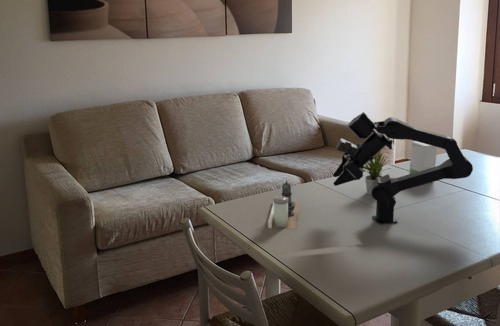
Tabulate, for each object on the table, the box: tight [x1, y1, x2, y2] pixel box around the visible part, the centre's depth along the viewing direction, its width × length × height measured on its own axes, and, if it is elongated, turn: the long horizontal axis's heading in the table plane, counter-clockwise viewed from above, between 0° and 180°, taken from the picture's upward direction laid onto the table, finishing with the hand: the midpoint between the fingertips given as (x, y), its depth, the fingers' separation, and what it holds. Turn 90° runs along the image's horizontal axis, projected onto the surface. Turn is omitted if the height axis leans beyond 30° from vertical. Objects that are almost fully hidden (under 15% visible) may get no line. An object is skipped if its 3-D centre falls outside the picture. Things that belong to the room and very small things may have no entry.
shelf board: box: [271, 201, 301, 230], centre depth 186 cm, size 9×25×1 cm, turn 172°
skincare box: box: [408, 141, 438, 175], centre depth 221 cm, size 8×7×16 cm
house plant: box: [362, 150, 391, 196], centre depth 207 cm, size 14×14×16 cm
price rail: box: [267, 195, 278, 229], centre depth 186 cm, size 1×25×3 cm, turn 172°
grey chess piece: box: [280, 180, 295, 217], centre depth 184 cm, size 6×6×12 cm
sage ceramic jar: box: [272, 195, 288, 227], centre depth 175 cm, size 5×5×9 cm
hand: (334, 180), depth 180 cm, fingers open, 9 cm apart
